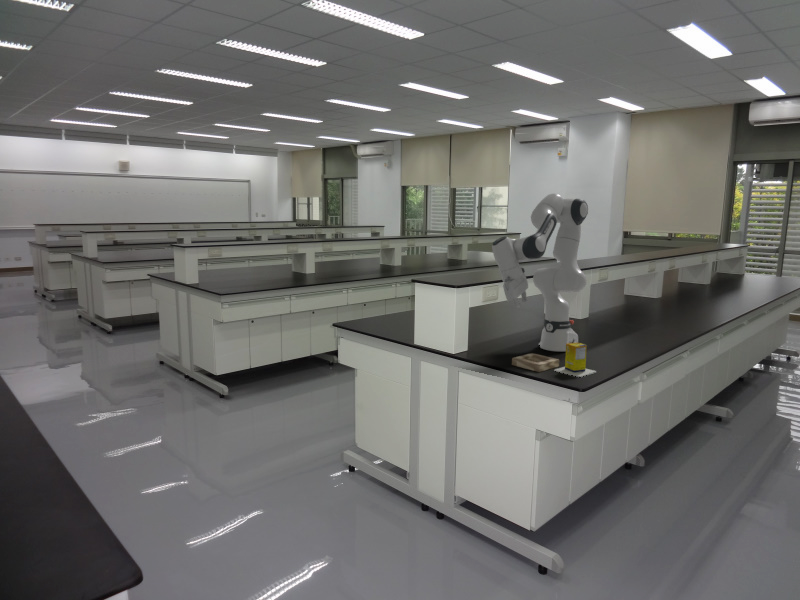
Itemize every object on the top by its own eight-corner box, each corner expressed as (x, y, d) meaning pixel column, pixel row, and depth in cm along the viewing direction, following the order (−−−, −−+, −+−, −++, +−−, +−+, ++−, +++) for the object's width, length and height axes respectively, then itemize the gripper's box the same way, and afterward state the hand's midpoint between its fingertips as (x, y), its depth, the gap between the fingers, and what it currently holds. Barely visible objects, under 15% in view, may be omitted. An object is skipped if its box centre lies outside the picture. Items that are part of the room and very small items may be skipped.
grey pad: (570, 366, 227) (570, 364, 227) (596, 372, 218) (596, 371, 218) (554, 371, 220) (554, 369, 220) (580, 377, 211) (580, 376, 211)
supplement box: (575, 367, 223) (577, 342, 222) (585, 371, 218) (587, 345, 216) (564, 368, 221) (565, 343, 220) (573, 372, 216) (575, 346, 214)
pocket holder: (531, 359, 238) (532, 353, 237) (558, 366, 227) (559, 359, 227) (511, 364, 229) (512, 358, 228) (539, 372, 218) (539, 364, 218)
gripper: (510, 278, 217) (521, 309, 218) (525, 267, 234) (535, 296, 235) (496, 282, 220) (507, 313, 222) (512, 271, 237) (522, 300, 239)
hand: (522, 304), depth 229 cm, fingers open, 8 cm apart
